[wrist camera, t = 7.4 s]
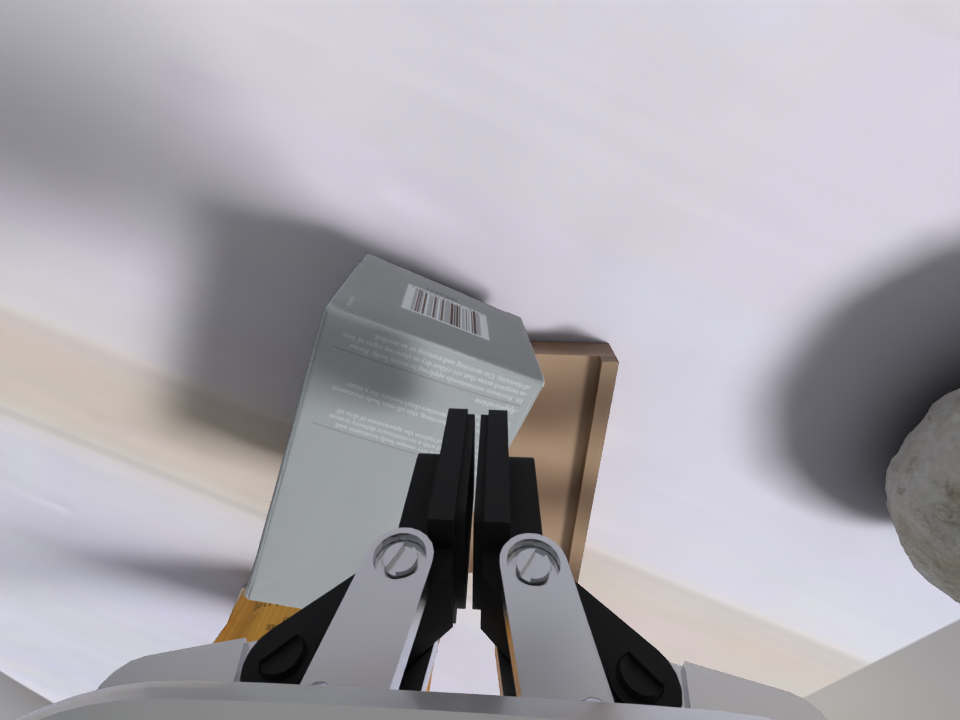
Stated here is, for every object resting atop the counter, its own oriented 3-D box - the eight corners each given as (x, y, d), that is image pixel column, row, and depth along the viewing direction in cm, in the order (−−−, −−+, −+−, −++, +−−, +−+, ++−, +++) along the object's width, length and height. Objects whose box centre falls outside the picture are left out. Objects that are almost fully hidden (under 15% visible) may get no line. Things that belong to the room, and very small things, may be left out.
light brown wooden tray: (368, 335, 23) (355, 353, 21) (608, 343, 22) (618, 362, 20) (393, 549, 31) (385, 576, 29) (572, 557, 30) (577, 585, 28)
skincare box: (363, 246, 18) (284, 486, 25) (318, 309, 12) (229, 605, 19) (531, 317, 21) (416, 521, 27) (564, 401, 14) (405, 638, 21)
